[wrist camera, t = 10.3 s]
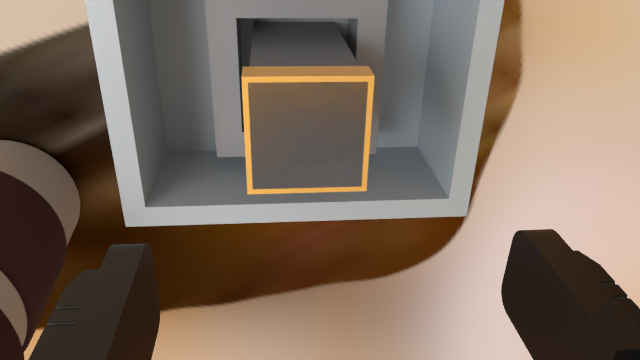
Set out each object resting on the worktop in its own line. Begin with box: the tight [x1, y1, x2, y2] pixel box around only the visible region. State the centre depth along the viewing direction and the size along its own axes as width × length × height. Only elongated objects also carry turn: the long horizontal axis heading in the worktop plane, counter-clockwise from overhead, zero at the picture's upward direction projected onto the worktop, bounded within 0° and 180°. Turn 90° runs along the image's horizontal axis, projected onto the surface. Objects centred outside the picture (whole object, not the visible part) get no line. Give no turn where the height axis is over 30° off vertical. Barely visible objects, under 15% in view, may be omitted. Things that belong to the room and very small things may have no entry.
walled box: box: [85, 0, 505, 227], centre depth 24 cm, size 14×16×7 cm
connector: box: [241, 21, 375, 194], centre depth 23 cm, size 4×4×10 cm
